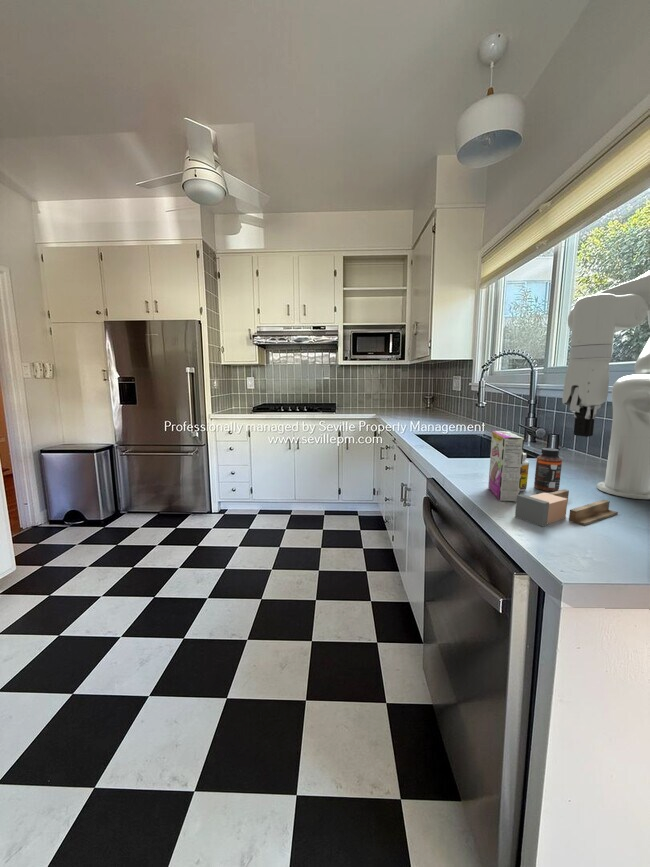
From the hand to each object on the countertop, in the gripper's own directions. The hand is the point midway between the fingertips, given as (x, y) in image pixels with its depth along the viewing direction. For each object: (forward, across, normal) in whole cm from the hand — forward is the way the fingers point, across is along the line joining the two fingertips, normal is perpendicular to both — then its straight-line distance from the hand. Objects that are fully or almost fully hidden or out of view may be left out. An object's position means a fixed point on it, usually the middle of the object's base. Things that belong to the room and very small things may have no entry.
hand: (583, 435), depth 80 cm
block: (+17, +13, 0) cm, 22 cm away
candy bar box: (+17, +8, -14) cm, 24 cm away
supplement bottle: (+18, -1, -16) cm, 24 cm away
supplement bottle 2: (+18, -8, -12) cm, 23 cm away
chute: (+17, +4, 0) cm, 18 cm away
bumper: (+17, +18, 0) cm, 24 cm away
